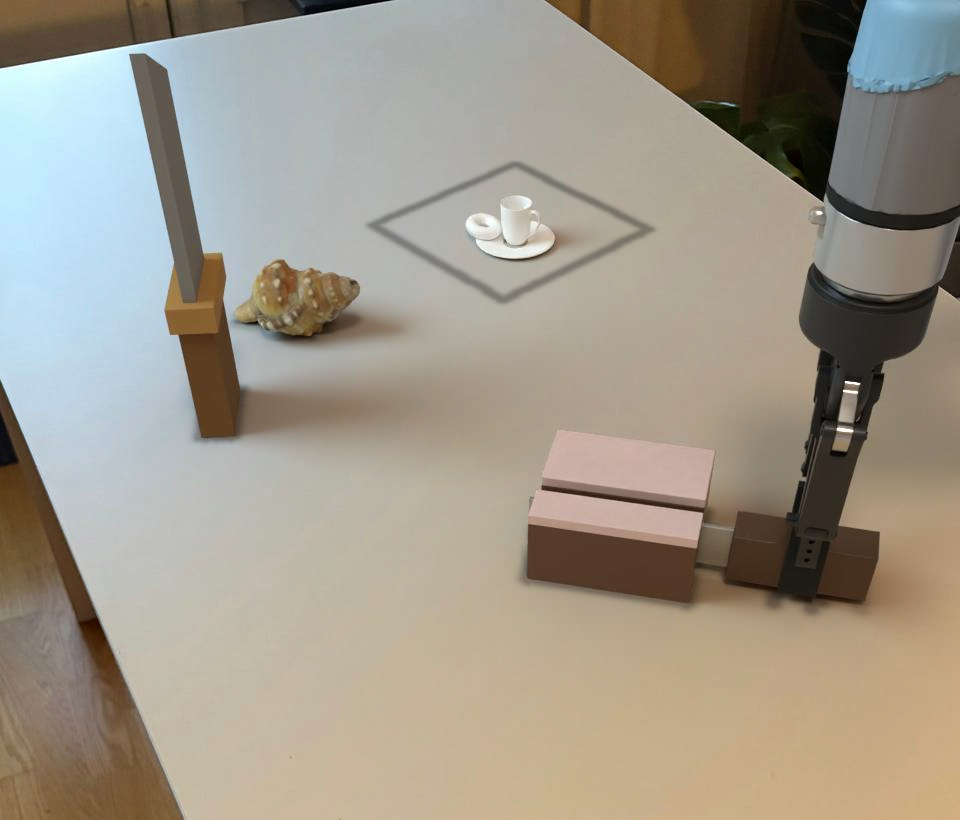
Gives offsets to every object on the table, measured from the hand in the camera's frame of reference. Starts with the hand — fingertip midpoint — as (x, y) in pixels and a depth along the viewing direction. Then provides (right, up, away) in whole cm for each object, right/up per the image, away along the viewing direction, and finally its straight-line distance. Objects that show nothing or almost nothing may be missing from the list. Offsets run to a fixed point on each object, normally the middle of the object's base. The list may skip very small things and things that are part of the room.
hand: (798, 573), depth 88 cm
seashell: (-40, +26, +25) cm, 54 cm away
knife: (-45, +16, +16) cm, 51 cm away
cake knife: (-7, +1, +1) cm, 8 cm away
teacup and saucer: (-20, +40, +36) cm, 58 cm away
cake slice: (-14, 0, +2) cm, 14 cm away
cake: (-12, +4, +6) cm, 14 cm away
